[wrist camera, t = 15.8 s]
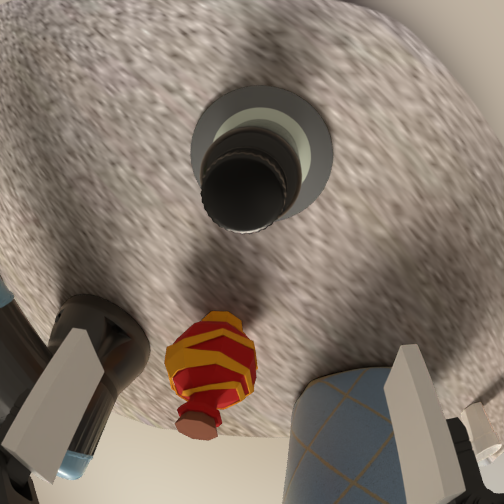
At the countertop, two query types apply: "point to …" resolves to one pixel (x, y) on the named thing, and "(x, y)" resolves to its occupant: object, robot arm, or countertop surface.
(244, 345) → the potion bottle
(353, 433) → the planter
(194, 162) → the plate
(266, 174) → the supplement bottle
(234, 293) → the countertop surface
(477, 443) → the cup
